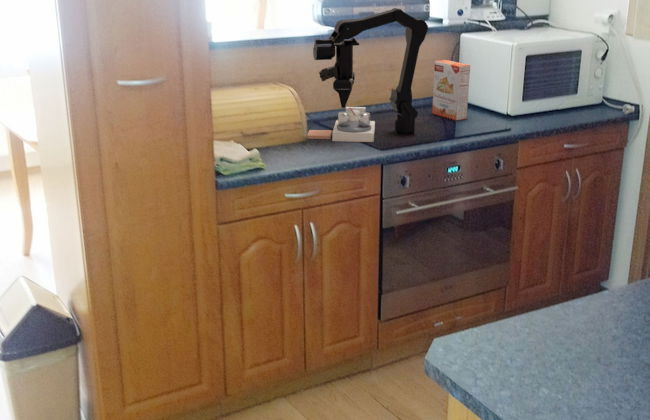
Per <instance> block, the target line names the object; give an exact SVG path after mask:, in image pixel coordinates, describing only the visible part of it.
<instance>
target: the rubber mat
mask: <svg viewBox="0 0 650 420" xmlns="http://www.w3.org/2000/svg"><path fill="white" fill-rule="evenodd" d="M307 132H308V133H307V134H306V139H310V140H311V139H313V140H314V139H316V140H318V139H319V140H323V139H324V140H331V138H332V132H333V130H330V129H328V130H327V129H326V130H325V129H309V130H308V131H307Z"/></svg>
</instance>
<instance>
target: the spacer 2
mask: <svg viewBox="0 0 650 420" xmlns="http://www.w3.org/2000/svg"><path fill="white" fill-rule="evenodd" d="M370 121H371V113H370V112H360V113H359V116H358V127H362V128H367V127H370Z"/></svg>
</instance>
